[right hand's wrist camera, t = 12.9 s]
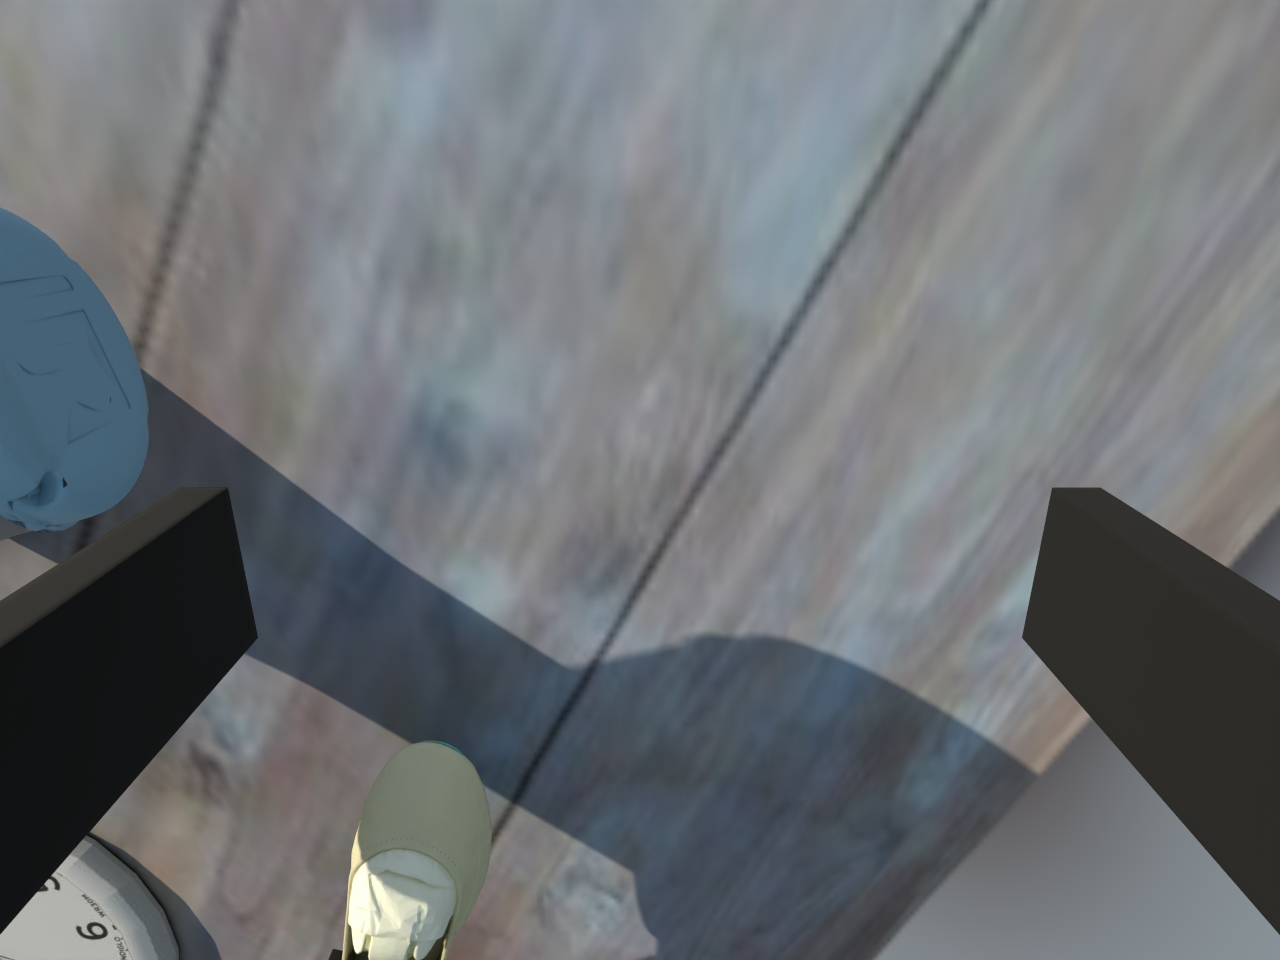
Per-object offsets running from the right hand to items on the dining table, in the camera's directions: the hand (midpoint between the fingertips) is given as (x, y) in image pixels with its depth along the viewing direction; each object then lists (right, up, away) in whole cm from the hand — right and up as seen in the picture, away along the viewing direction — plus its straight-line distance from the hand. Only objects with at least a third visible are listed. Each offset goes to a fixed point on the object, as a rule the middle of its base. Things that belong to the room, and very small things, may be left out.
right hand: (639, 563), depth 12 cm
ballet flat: (-14, -25, +38) cm, 48 cm away
